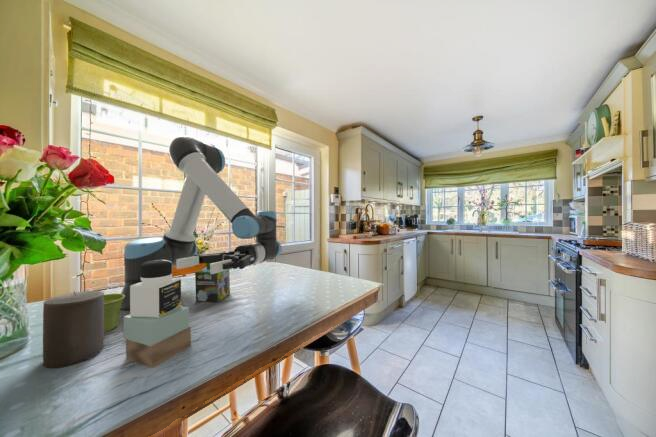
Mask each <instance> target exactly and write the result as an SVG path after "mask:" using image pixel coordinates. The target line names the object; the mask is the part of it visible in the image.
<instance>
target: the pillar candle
mask: <svg viewBox="0 0 656 437" xmlns="http://www.w3.org/2000/svg"><path fill="white" fill-rule="evenodd" d="M104 295H105V291H100V290H84V291H83V290H82V291H75V290H74V291H73V292H69V293H66V294H60V295H56V296H53V297H50V298H48V299H46V300H44V301H43V307H42V308H43V310H42V311H43V312H42V318H43V319H42V322H43V323H42V360H43V361H42V362H43V363H42V366H43V367H44V368H48V369H49V368H52V369H55V368H57V369H58V368H59V369H60V368H64V367H65V368H66V367H68V366H72V365H76V364H79V363H82V362H84V361H87V360H89V359H91V358H93V357H95V356H97V355H98V354H100V353H101V352H102V351H103V349H104V348H105V343H104V342H105V340H104V339H105V336H104V335H105V334H104V333H105V332H104Z"/></svg>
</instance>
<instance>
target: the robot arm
mask: <svg viewBox="0 0 656 437" xmlns="http://www.w3.org/2000/svg"><path fill="white" fill-rule="evenodd" d="M168 154H169V157H170V160H171V161H172V163H173V164H174V165H175V167H177V169H178V170H179V171H181V173H183V174H185V175H186V176H185V178H184V182H183V186H182V189H181V193H180V195H179V199H178V202H177V205H176V208H175V212H174V216H173V218H172V222H171V225H170V229H168V230H167V231H166V230H165V232H163V233H164V234H163V237H158V236H157V237H155V236H154V237H147V238H139V239H135V240H134V239H133V240H132V241H129V242H127V243H126V244H125V245H124V253H123V259H124V264H123V265H124V285H123V289H122V291H121V293H120V294H124V295H125V298H124V299H123V302H122V303H121V308H120V310H125V311H130V286H131V285H134V284H137V283H140V282H142V281H141V265H142V264H143V263H145V262H148V261H153V260H168V261H171V262H172V268H174V267H175V268H176V270H181V269H185V268H191V267H194V266H195V267H198V266H199V265H200V264H201V265H202V264H206V263H211V264H210V274H215V273H219V272H222V271H226V270H229V271H230V270H232V269H234V270H237V269H240V270H243V269H245V268H246V267H248V266H256V265H257V264H259V263H262V262H267V261H271V260H275V259H277V258H279V256H280V255H281V254H282V251H283V248H282V245H281V242H280V241H278V240H277V222H278V219H277V212H276V211H274V210H258V211H257V212H256V215H255V214H254V212H252V211H251V210H250V208H249V207H248V206H247V205H246V203H244V202H243V201H242V199H241V198H240V197H239V196H238V195H237V194H236V193H235V192H234V191H233V189H231V187H230V186H229V185H228V184H227V183H226V182H225V181H224V180H223V179H222V177H220V176H219V173H220V172H223V170H224V168H225V166H226V157H225V155H224V153H223V151H222V150H221V149H220V148H219V147H218V146H215V145H214V144H212V143H210V142H206V141H204V140H202V139H199V138H197V137H196V136H193V135H190V134H189V135H187V134H186V135H185V134H184V135H179V136H176V137H175V138H173V139H172V140H171V142H170V143H169V146H168ZM205 197H207V198H208V199H209V200H210V201H211V202H212V203H213V204H214V205H215V207H216V208H217V209H218V210H219V211H220V212H221V213H222V214H223V215H224V217H226V219H227V220H228V221H229V222H230V223H231V230H232V234H233V235H234V236H235V237H236V238H238V239H241V240H250V239H254V238H256V242H251V243H245V244H240V245H237V246H236V247H235V249H234V250H230V251H221V252H220V251H219V252H212V253H211V252H209V253H200V254H199V253H198V252H199V247H198V246H197V245H198V243H197V242H196V236H195V234H194V232H195V229H196V226H197V223H198V220H199V219H198V218H199V216H200V212H201V209H202V206H203V204H204V200H205ZM215 262H216V263H215Z"/></svg>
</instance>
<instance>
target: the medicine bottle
mask: <svg viewBox="0 0 656 437" xmlns="http://www.w3.org/2000/svg"><path fill="white" fill-rule="evenodd" d="M141 281H142V282H140V283H137V284H134V285H131V286H130V310H129V315H130V316H131V317H148V318H160V317H162V316H164V315H166V314H167V313H169V312H171V311H173V310H174V309H176V308H178V307H180V306H182V278H179V277H173V267H172V262H171V261H168V260H153V261H148V262H145V263H143V264H142V265H141Z"/></svg>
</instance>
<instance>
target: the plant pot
mask: <svg viewBox="0 0 656 437" xmlns="http://www.w3.org/2000/svg"><path fill="white" fill-rule="evenodd" d="M124 298H125V295H124V294H121V293H108V294H105V293H104V333H106V332H110V331H112V330H113V329H115V328H117V327H118V325H119V319H120V318H119V317H120V313H121V309H120V308H121V303H122V302H123V299H124Z"/></svg>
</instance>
